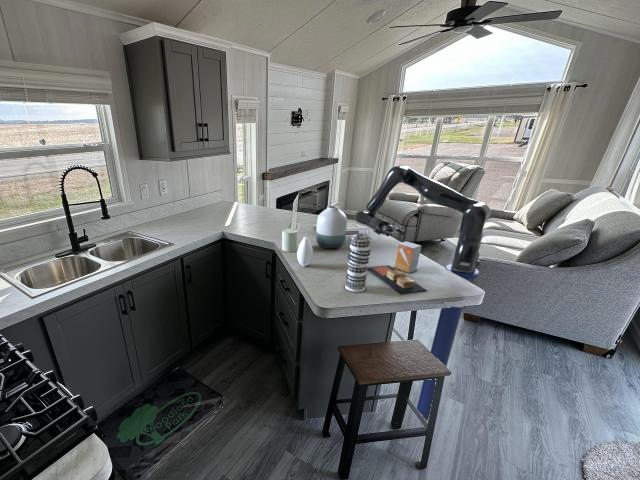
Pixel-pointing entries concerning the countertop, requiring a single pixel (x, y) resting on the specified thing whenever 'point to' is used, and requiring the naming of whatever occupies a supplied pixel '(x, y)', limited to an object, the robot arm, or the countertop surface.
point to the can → (289, 240)
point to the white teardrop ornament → (305, 252)
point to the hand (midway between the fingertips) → (396, 233)
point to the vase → (331, 228)
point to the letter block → (405, 282)
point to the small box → (407, 256)
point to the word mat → (382, 274)
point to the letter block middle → (394, 274)
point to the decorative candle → (358, 262)
